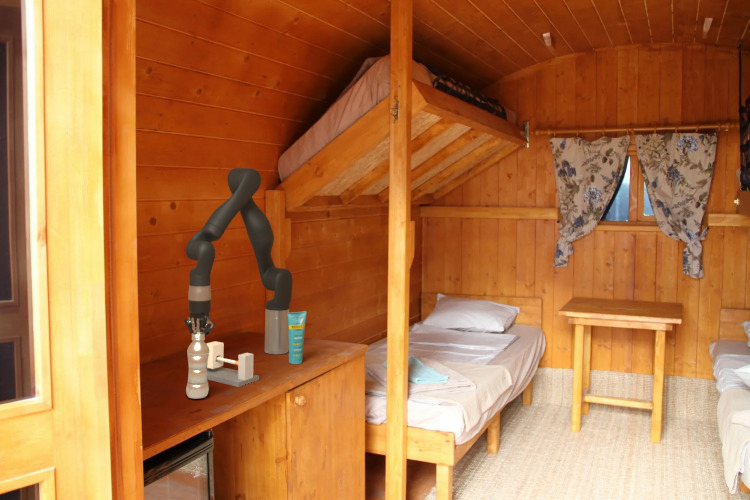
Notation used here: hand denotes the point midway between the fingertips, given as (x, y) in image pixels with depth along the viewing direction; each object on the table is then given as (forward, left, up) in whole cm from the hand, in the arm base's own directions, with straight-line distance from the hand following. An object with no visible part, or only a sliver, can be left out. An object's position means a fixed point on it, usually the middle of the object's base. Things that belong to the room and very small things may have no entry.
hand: (199, 347), depth 231 cm
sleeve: (0, +7, -6) cm, 9 cm away
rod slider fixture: (0, +12, -8) cm, 15 cm away
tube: (-30, +19, -9) cm, 37 cm away
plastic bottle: (+21, +21, -9) cm, 31 cm away
